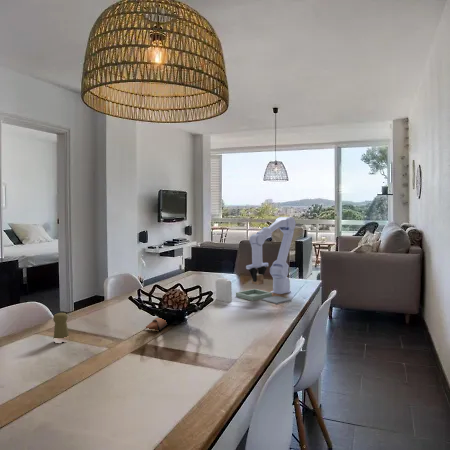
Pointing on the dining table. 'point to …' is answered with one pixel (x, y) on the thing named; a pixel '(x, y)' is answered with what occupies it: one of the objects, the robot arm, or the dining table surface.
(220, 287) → the white rounded block
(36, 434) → the dining table surface
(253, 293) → the bin
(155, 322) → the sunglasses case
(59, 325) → the cork
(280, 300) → the slate mat
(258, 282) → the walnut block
